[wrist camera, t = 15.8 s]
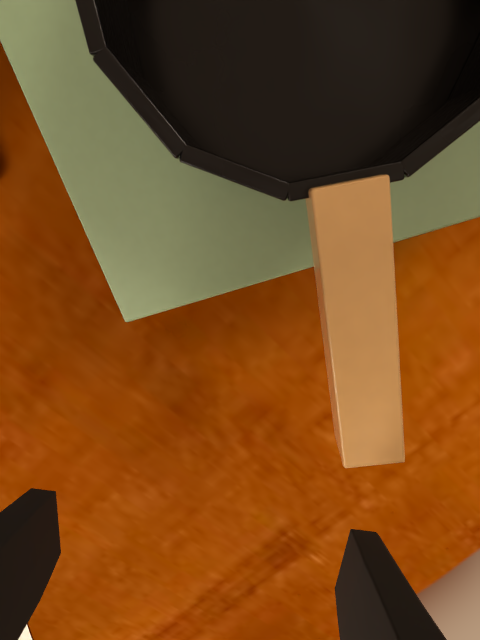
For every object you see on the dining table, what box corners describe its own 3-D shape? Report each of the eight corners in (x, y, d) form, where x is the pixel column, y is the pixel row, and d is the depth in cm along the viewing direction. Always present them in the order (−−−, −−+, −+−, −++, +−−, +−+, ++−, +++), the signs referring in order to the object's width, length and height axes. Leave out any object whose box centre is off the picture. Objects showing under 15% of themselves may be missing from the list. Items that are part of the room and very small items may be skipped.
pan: (67, -206, 9) (-62, -458, 5) (512, -357, 8) (717, -803, 4) (214, 410, 14) (198, 484, 11) (489, 375, 13) (571, 445, 10)
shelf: (162, 285, 18) (114, 334, 12) (32, -43, 14) (-131, -199, 8) (472, 188, 16) (593, 192, 10) (421, -233, 12) (571, -629, 6)
